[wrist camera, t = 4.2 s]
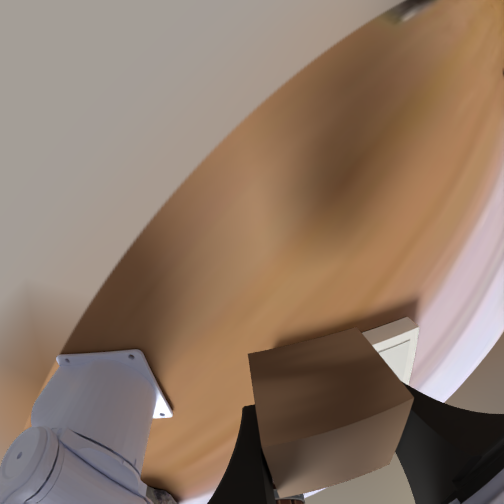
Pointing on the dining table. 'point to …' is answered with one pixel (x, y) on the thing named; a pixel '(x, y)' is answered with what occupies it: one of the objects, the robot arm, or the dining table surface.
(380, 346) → the white tray
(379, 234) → the dining table surface
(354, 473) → the walnut block
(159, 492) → the mineral rock
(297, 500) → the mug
